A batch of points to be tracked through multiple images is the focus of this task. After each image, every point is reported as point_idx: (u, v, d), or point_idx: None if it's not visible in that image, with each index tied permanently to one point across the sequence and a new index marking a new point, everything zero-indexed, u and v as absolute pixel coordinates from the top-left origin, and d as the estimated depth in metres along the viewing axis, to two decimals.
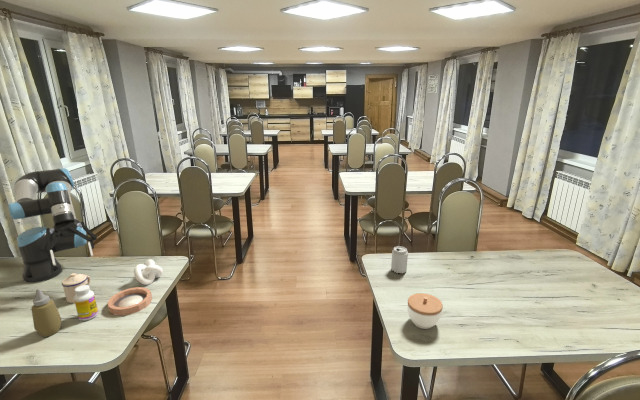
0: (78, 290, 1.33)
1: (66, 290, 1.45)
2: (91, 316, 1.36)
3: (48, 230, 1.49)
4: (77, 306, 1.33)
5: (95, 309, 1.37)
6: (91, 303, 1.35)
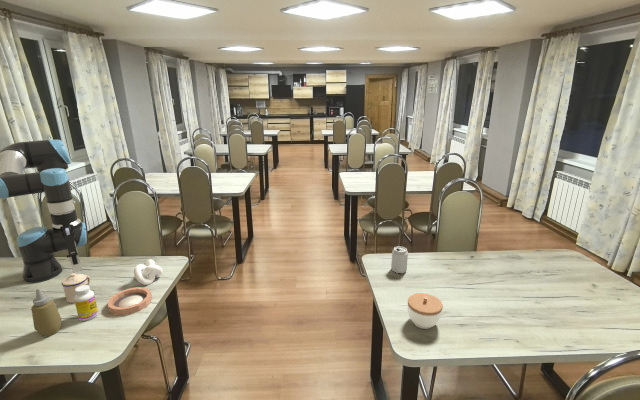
0: (78, 290, 1.33)
1: (66, 290, 1.45)
2: (91, 316, 1.36)
3: (72, 231, 1.23)
4: (77, 306, 1.33)
5: (95, 309, 1.37)
6: (91, 303, 1.35)
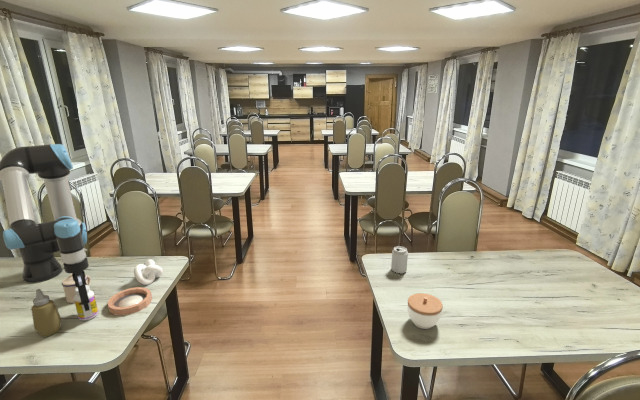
0: None
1: (66, 290, 1.45)
2: (91, 316, 1.36)
3: None
4: (77, 306, 1.33)
5: (95, 309, 1.37)
6: (91, 303, 1.35)
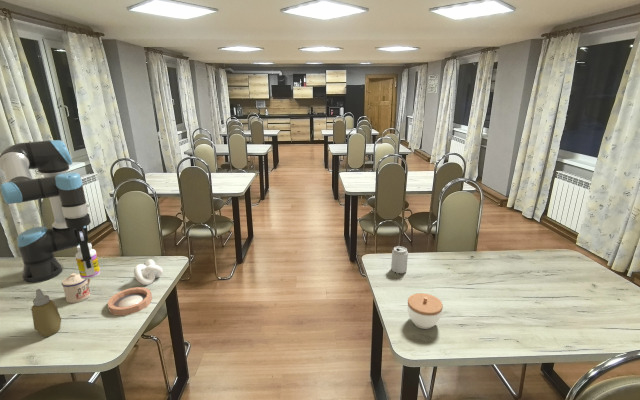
0: None
1: (66, 290, 1.45)
2: (93, 275, 1.32)
3: None
4: (79, 264, 1.30)
5: (97, 268, 1.34)
6: (93, 261, 1.31)
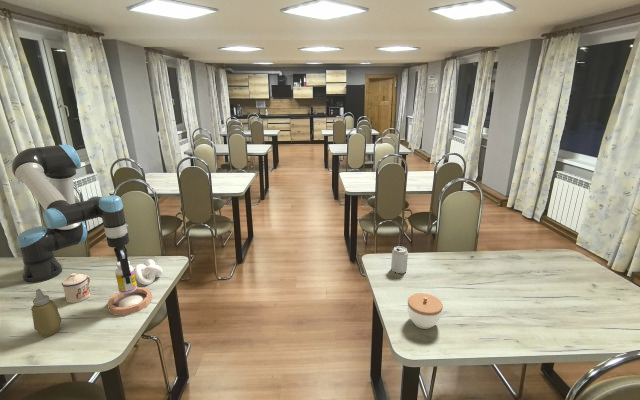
0: (119, 264, 1.38)
1: (66, 290, 1.45)
2: (131, 290, 1.42)
3: None
4: (118, 279, 1.39)
5: (135, 283, 1.43)
6: (131, 277, 1.41)
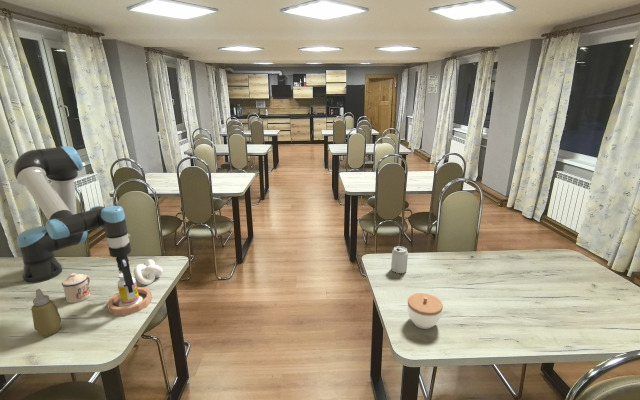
0: (122, 276, 1.40)
1: (66, 290, 1.45)
2: (133, 301, 1.44)
3: None
4: (121, 291, 1.41)
5: (137, 294, 1.45)
6: None
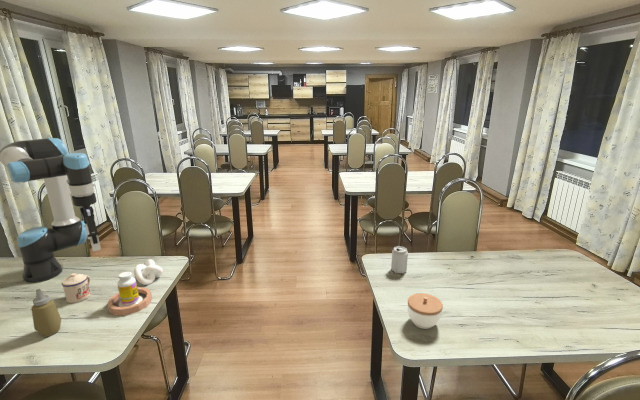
0: (122, 276, 1.40)
1: (66, 290, 1.45)
2: (133, 301, 1.44)
3: None
4: (121, 291, 1.41)
5: (137, 294, 1.45)
6: (133, 288, 1.43)
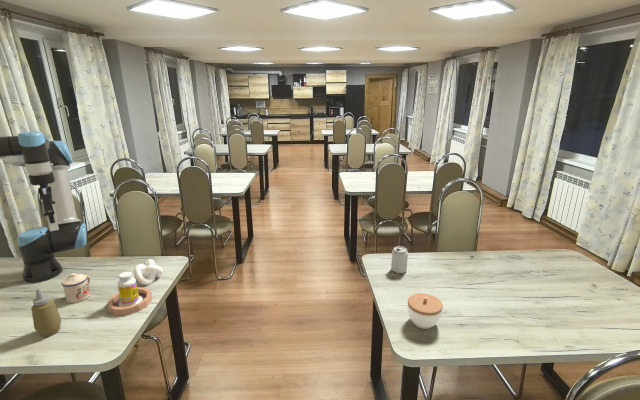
0: (122, 276, 1.40)
1: (66, 290, 1.45)
2: (133, 301, 1.44)
3: (49, 191, 1.29)
4: (121, 291, 1.41)
5: (137, 294, 1.45)
6: (133, 288, 1.43)
